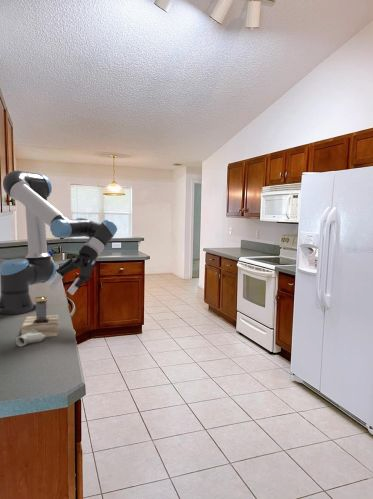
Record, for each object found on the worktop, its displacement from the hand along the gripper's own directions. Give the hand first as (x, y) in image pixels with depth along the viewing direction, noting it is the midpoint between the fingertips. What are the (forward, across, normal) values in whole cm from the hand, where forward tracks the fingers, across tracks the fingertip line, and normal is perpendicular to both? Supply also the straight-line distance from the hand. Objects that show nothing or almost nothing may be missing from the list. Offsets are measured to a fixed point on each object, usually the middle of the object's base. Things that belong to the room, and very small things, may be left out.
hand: (59, 290), depth 138 cm
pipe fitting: (+22, -8, +1) cm, 24 cm away
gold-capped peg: (+16, 0, -5) cm, 17 cm away
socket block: (+16, 0, -5) cm, 17 cm away
